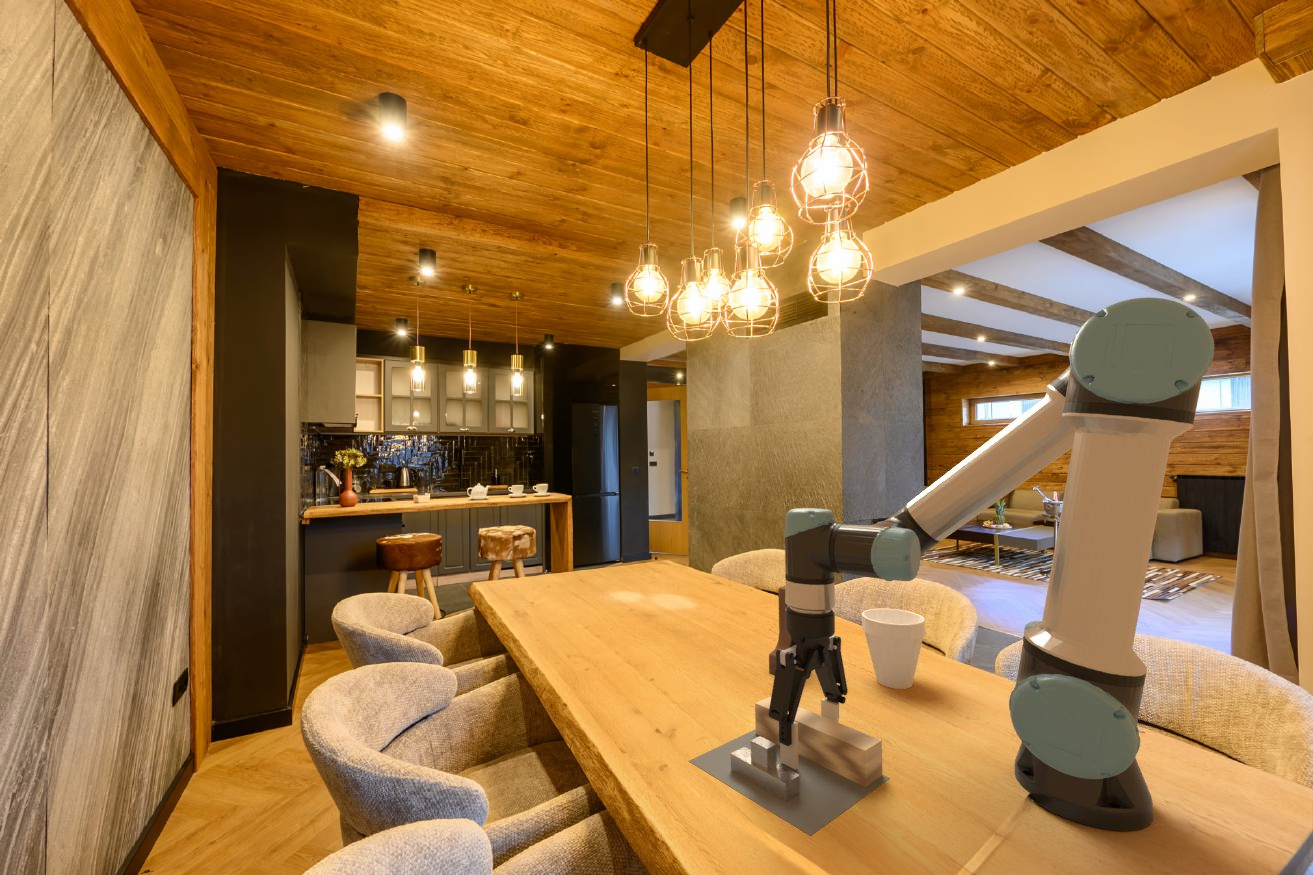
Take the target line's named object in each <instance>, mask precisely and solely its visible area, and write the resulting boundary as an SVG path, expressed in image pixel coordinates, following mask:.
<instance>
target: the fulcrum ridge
mask: <svg viewBox="0 0 1313 875" xmlns="http://www.w3.org/2000/svg"><path fill="white" fill-rule="evenodd" d="M731 771H732V772H734V773H736V774H737V775H739V776H741V777H743V778H744V779H746V780H748V781H750V782H751V783H753V784H755V785H756V786H758V787H760V788H762V789H763V790H765V791H767V792H768V793H770V794H772V795H774V796H775V797H777V798H779V799H781V800H782V801H784V802H788V801H790V800H791V799H793V798H794V797H796V796H797V795H799V794H800V777H799V775H798V774H796V773H794V772H792V771H790V770H788V769H786V768H784V767H783V766H781V765H779V764H777V754H776V744H775V743H773V742H771V741H769V740H767V739H765V738H763V737H761V736H759V737H757V738H755V739H753V740H751V750H750V749H748V748H746V747H743V748H741V749H739V750H737V751H735V752H732V753H731Z"/></svg>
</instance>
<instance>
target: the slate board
mask: <svg viewBox="0 0 1313 875" xmlns="http://www.w3.org/2000/svg"><path fill="white" fill-rule="evenodd" d="M759 736H760V735H758V734H756V728H755V729H753V730H751V731H749V732H747V733H745V734H743V735H740V736H738V737H736V738H734V739H732V740H730V741H727V742H725V743H724V744H721V745H719V746H717V747H715V748H713V749H711V750H709V751H707V752H705V753H702V754H700V755H698V756H696V757H694V758H692V759H689V760H688V763H691V764H692V765H694V766H696V767H697V768H699V769H700V770H701V771H703V772H705V773H707V774H708V775H710V776H712V777H713V778H715V779H716V780H718V781H719V782H722V784H724V785H726V786H728V787H730V788H731V789H733V790H734V791H736V792H737V793H739V794H741V795H742V796H745V798H748V799H749V800H751V801H752V802H754V803H756V804H758V806H760V807H762V808H764V809H766V810H767V811H769V812H771V814H773V815H775V816H777V817H778V818H780V819H781V820H783V821H785V822H787V823H788V824H790V825H791V826H793V827H795V828H797V829H798V830H799V831H801V832H802V833H803V832H804V833H805V834H806V835H808V836H809V837H812V836H813V835H814V834H816V833H817V832H819V831H820V830H821V829H823V828H825V826H827V825H828V824H830V823H831V822H832V821H834V820H836V818H838V817H839V816H840V815H841V816H842V814H844V813H845V812H846V811H847V810H849V809H850V808H852V807H853V806H855V804H857V803H859V802H860V801H861V800H862V799H864V798H865V797H867V796H868V795H870V794H871V793H873V792H874V791H875V790H876V789H878V788H879V787H880V786H881V785H883V784H885V783H886V782H887V781H889V780H891V777H889V776H886V775H885V774H883V776H881V777H880V778H879V779H877V780H876V781H874V782H873V783H872V784H870V785H869V786H867V787H864V786H862V785H860V784H858V783H856V782H854V781H852V780H850V779H848V778H846V777H844V776H842V775H840V774H838V773H836V772H834V771H832V770H830V769H827V768H825V767H823V766H821V765H819V764H817V763H815V762H813V761H811V760H809V759H807V758H805V757H803V756H801V755H799V754H798V768H797V769H796V770H795V769H793V768H791V767H789V766H787V765H785V764H783V763H781V762H780V745H778V744H776V743H775V744H776V754H777V764H779V765H781V766H783V767H784V768H786V769H788V770H790V771H792V772H794V773H796V774H798V775H799V777H800V794H799V795H797V796H796V797H794V798H793V799H791V800H790V801H788V802H784V801H782V800H781V799H779V798H777V797H775V796H774V795H772V794H770V793H768V792H767V791H765V790H763V789H762V788H760V787H758V786H756V785H755V784H753V783H751V782H750V781H748V780H746V779H744V778H743V777H741V776H739V775H737V774H736V773H734V772H732V771H731V753H732V752H735V751H737V750H739V749H741V748H743V747H746V748H748V749H750V750H751V740H753V739H755V738H757V737H759ZM761 737H762V736H761ZM763 738H764V737H763ZM765 739H766V738H765ZM767 740H768V739H767ZM769 741H770V740H769ZM771 742H772V741H771ZM773 743H774V742H773Z"/></svg>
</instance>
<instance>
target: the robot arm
mask: <svg viewBox="0 0 1313 875" xmlns="http://www.w3.org/2000/svg"><path fill="white" fill-rule="evenodd" d="M1214 357H1215V341H1214V337H1213V334H1212V331H1211V329H1210V327H1209V325H1208V324H1207V322H1206V320H1205V319H1204V318H1203V317H1202V316H1201V315H1200V314H1199V313H1198V312H1196V311H1195V310H1194V309H1192V308H1190V307H1189V306H1187V305H1185V304H1183V303H1180V302H1177V301H1175V300H1172V299H1171V300H1170V299H1168V298H1159V297H1137V298H1136V297H1135V298H1130V299H1126V300H1122V301H1118V302H1116V303H1113V304H1110V305H1108V306H1106V307H1104V308H1102V309H1101V310H1099V311H1098V312H1096V313H1094V314H1093V315H1092V316H1091V317H1090V318H1089V319H1087V320H1086V321H1085V322H1084V323H1083V324H1082V326H1081V327H1080V328H1079V329H1078V331H1076V334H1075V335H1074V338H1073V339H1072V341H1071V343H1070V348H1069V351H1068V359H1069V363H1070V365H1069V366H1068V367H1067V368H1066V369H1065V370H1063V372H1061V374H1060V375H1058V376H1057V377H1056V378H1055V379H1054V380H1052V381H1050V383H1049V384H1047V385H1046V391H1045V396H1044V397H1043V398H1042V399H1040V400H1039V401H1037V403H1035V404H1034V405H1033V406H1031V407H1030V408H1029V409H1027V410H1026V411H1025V412H1024V413H1022V414H1021V415H1020V416H1018V417H1017V418H1015V419H1014V420H1013V421H1012V422H1011V423H1009V424H1008V425H1007V426H1006V427H1004V428H1003V429H1002V430H1001V431H999V432H998V433H997V434H995V435H994V436H993V437H991V438H990V439H989V440H988V441H986V442H985V443H984V444H982V445H981V446H979V447H978V448H977V449H976V450H974V452H972V453H971V454H969V455H968V456H967V457H965V459H963V460H962V461H960V462H959V463H958V464H956V465H955V466H954V467H952V468H951V469H950V470H949V471H947V472H945V474H944V475H943V476H941V477H939V478H938V479H937V480H936V481H934V482H933V483H932V484H931V485H930V486H928V487H927V488H925V489H924V490H923V491H922V492H921V493H919V494H917V496H915V497H914V498H912V499H911V500H910V501H909V502H908V503H906V504H905V505H904V506H902V507H901V508H900V509H898V510H897V511H895V512H894V513H893V514H892V515H891V516H889V517H888V518H886V519H885V520H882V521H880V522H877V523H874V524H870V525H865V524H863V525H862V524H847V523H846V524H844V523H839V522H836V519H835V514H834V512H833V511H832V510H831V509H826V508H825V509H824V508H817V507H816V508H811V507H810V508H809V507H805V508H804V507H800V508H799V507H798V508H792V509H789V510H788V511H787V512H786V515H785V526H784V535H783V539H784V558H785V559H784V561H785V568H784V570H785V571H784V572H785V573H784V575H785V576H784V578H785V584H784V586H785V602H786V604H787V605H788V607H787V608H786V609H785V629H786V631H787V632H788V633H789V634H790V636H791V641H790V645H789V648H788V649H786V650H782V649H777V651H776V664H777V665H776V671H775V676H774V678H773V685H772V691H771V695H770V696H771V702H770V708H769V717H770V718H772V719H774V720H777V721H779V741H780V762H781V763H783V764H785V765H787V766H789V767H791V768H793V769H795V770H796V769H797V768H798V722H795V721H794V720H795V717H796V713H797V710H798V707H800V702H801V699H802V695H803V692H804V688H805V685H806V682H807V680H808V679H810V677H811V675H812V672H813V671H814V672H815V674H816V677H817V681H818V682H819V684H820V687H821V690H822V693H823V695H824V698H822V699H821V700H820V704H821V705H820V710H821V711H820V712H821V713H820V715H821V716H823V717H825V718H828V719H830V720H833V721H835V722H838V723H840V722H839V720H840V719H839V718H840V715H839V714H840V704H842V705H844V704H845V703H846V696H847V695H848V693H849V691H848V684H847V680H846V678H847V677H846V673H845V668H844V662H843V657H842V651H841V650H842V637H841V636H838V635H835V632H836V618H835V611H834V610H833V608H835V607H836V597H835V592H836V591H835V590H836V588H835V574H841V575H842V574H843V575H849V576H856V577H857V576H858V577H864V578H869V579H870V578H871V579H878V580H884V581H887V582H892V581H895V582H896V581H899V582H911V581H913V580H915V578H917V577H918V572H919V571H920V567H921V566H920V565H921V558H922V557H923V556H924V555H925V554H926V553H927V552H928V551H929V550H931V549H932V548H934V547H935V546H937V545H938V544H939V543H940V542H942V541H943V540H945V539H946V538H947V537H949V536H950V535H951V534H953V533H954V532H956V531H957V530H959V529H960V528H962V527H963V526H964V525H966V524H967V523H969V522H970V521H971V520H973V519H974V518H976V517H978V515H980V514H981V513H982V512H984V511H986V510H987V509H988V508H990V507H992V506H993V505H994V504H995V503H997V502H998V501H1000V500H1001V499H1002V498H1004V497H1005V496H1007V495H1008V494H1009V493H1011V492H1012V491H1013V490H1015V489H1017V488H1018V487H1020V486H1021V485H1022V484H1024V483H1025V482H1027V481H1028V480H1029V479H1031V478H1032V477H1033V476H1035V475H1037V474H1038V473H1039V472H1041V471H1042V470H1043V469H1044V468H1047V466H1048V467H1049V465H1051V464H1052V463H1053V462H1055V461H1056V460H1057V459H1059V458H1060V457H1062V456H1063V455H1065V454H1066V453H1068V452H1069V451H1070V450H1071V454H1070V460H1069V465H1068V466H1069V467H1068V472H1067V477H1066V483H1065V489H1064V494H1063V499H1062V500H1063V501H1062V506H1061V512H1060V517H1059V521H1058V522H1059V523H1058V529H1057V533H1056V539H1055V547H1054V551H1053V557H1052V563H1051V568H1050V569H1051V570H1050V575H1049V580H1048V585H1047V590H1046V595H1045V596H1046V597H1045V604H1044V609H1043V615H1042V620H1035V621H1030V622H1028V623H1025V626H1024V633H1023V636H1022V641H1023V642H1022V643H1023V644H1022V647H1021V653H1020V657H1019V658H1020V659H1019V664H1018V670H1017V675H1016V681H1015V686H1014V688H1013V690H1012V691H1011V692H1010V695H1009V700H1008V707H1009V709H1008V710H1009V712H1010V714H1009V715H1010V720H1011V723H1012V727H1013V728H1014V729H1013V730H1014V731H1015V733H1016V735H1017V736H1018V738H1019V740H1020V741H1021V743H1020V746H1019V749H1018V751H1017V753H1016V754H1017V755H1016V757H1015V759H1014V776H1015V778H1016V781H1017V782H1018V783H1019V785H1020V786H1021V787H1022V788H1023V789H1024V790H1025V791H1026V792H1028V793H1029V794H1028V795H1026V796H1027V798H1028V799H1030V800H1031V801H1033V802H1034V803H1035V804H1037V805H1038V806H1040V807H1041V808H1043V809H1045V810H1048V812H1051V813H1054V814H1056V815H1058V816H1059V817H1062V818H1064V819H1067V820H1070V821H1073V822H1075V823H1079V824H1083V825H1086V826H1089V827H1094V828H1098V829H1103V830H1111V831H1124V832H1125V831H1126V832H1127V831H1135V830H1142V829H1144V828H1146V827H1147V828H1148V826H1150V825H1151V823H1153V819H1154V808H1153V804H1154V803H1153V798H1152V794H1151V792H1150V790H1149V787H1148V784H1147V782H1146V779H1145V777H1144V775H1143V772H1142V770H1141V768H1140V766H1139V763H1138V761H1137V758H1136V756H1137V754H1138V753H1139V751H1140V746H1141V737H1140V735H1139V734H1140V731H1139V728H1138V720H1139V715H1140V710H1141V704H1142V703H1141V702H1142V699H1143V694H1144V688H1145V683H1146V682H1145V681H1146V677H1147V671H1148V668H1147V665H1146V664H1145V663H1144V661H1143V660H1142V659H1141V657H1139V656H1138V654H1137V653H1136V652H1135V650H1134V641H1135V636H1136V632H1137V631H1136V630H1137V625H1138V620H1139V616H1140V614H1139V613H1140V610H1141V606H1142V605H1141V603H1142V600H1143V594H1144V593H1143V592H1144V588H1145V582H1146V576H1147V572H1148V566H1149V561H1150V555H1151V550H1152V545H1153V541H1154V540H1153V539H1154V536H1155V535H1154V534H1155V528H1156V523H1157V518H1158V513H1159V507H1160V502H1161V495H1162V491H1163V485H1164V480H1165V475H1166V469H1167V463H1168V458H1169V454H1170V448H1171V443H1172V442H1173V441H1174V439H1175V438H1177V437H1179V436H1181V435H1182V434H1184V433H1186V432H1187V431H1190V430H1191V429H1193V427H1194V422H1195V417H1196V412H1197V406H1198V402H1199V398H1200V391H1201V387H1202V381H1203V377H1204V376H1205V375H1206V373H1208V371H1209V368H1210V367H1211V366H1212V363H1213V360H1214ZM796 666H797V667H798V668H799V669H802V671H801V670H798V669H796V668H795V667H796ZM788 712H789V714H788Z"/></svg>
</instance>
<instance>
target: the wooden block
mask: <svg viewBox="0 0 1313 875" xmlns="http://www.w3.org/2000/svg"><path fill="white" fill-rule="evenodd" d="M777 598H778V631H779V632H778V640H777V643H776V646H775V648H774V649H773V650H772V651H771V652H770V653H769V654H768V666H769V667H768V673H769V675H772V676H774V677H775V671H776V665H777V664H776V651H777V649H782V650H786V649H788V648H789V645H790V641H791V636H790V634H789V633H788V632H787V631H786V629H785V609H786V608H787V607H788V605H787V604H786V602H785V585H783V586H780V587H778V597H777ZM795 668H796V669H798V670H801V671H803V670H802V669H799V668H798V667H797V666H796V667H795Z"/></svg>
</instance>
